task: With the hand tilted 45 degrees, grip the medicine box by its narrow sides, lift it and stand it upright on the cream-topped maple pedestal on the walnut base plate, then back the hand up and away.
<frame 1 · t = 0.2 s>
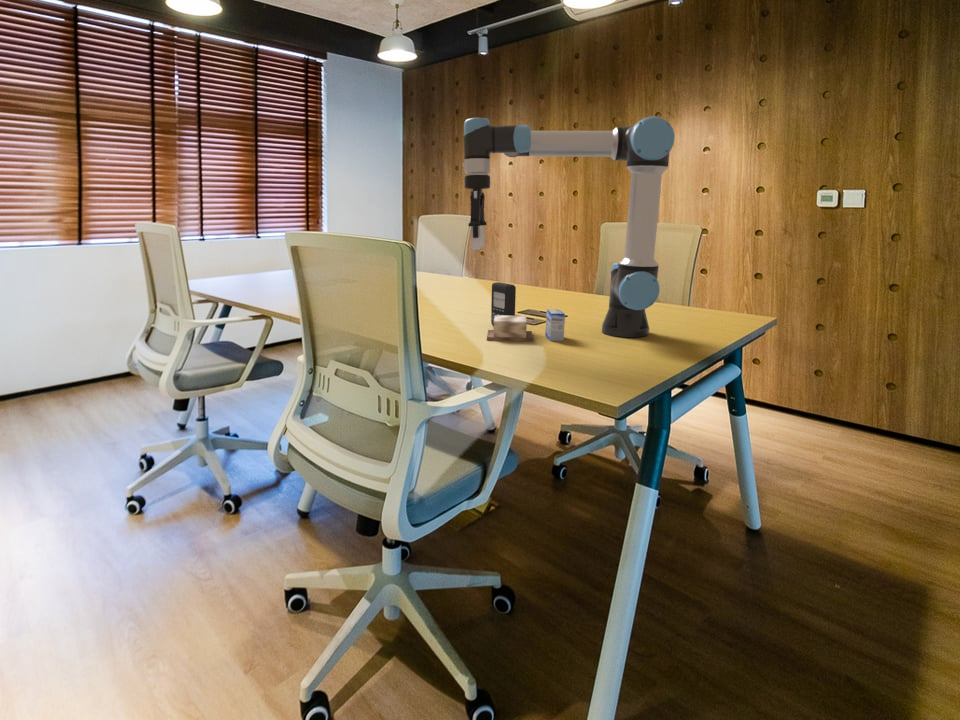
hand: (478, 248, 183), 28 cm above the table, tool pointing down, fingers open, 13 cm apart
build base: (509, 337, 191), on the table
medicine box: (554, 339, 190), on the table
card reader: (502, 328, 205), on the table
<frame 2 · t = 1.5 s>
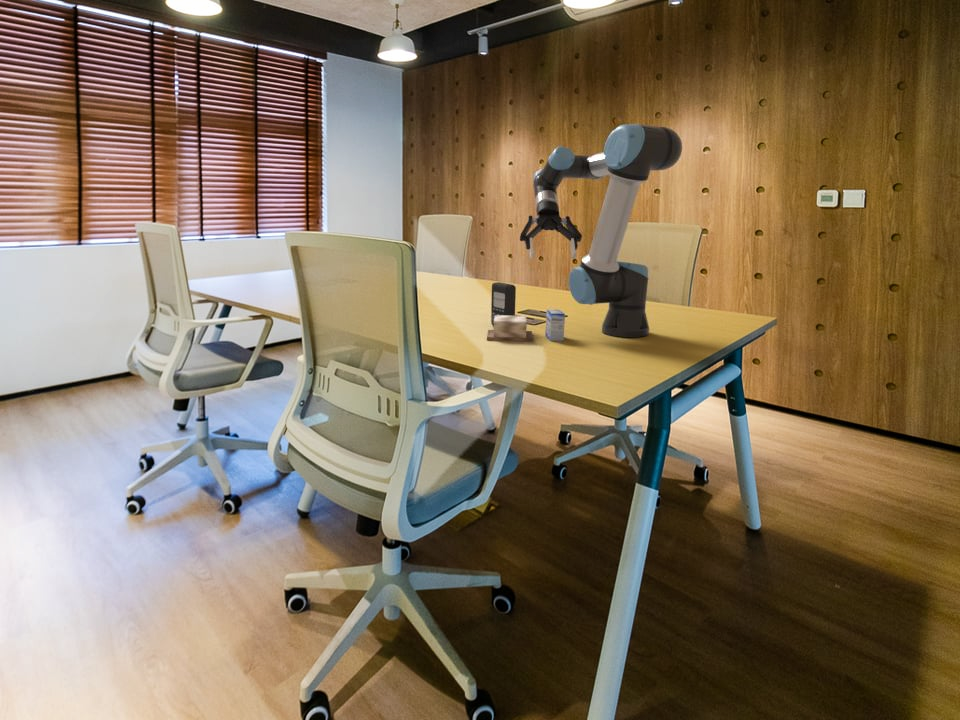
hand: (552, 256, 194), 25 cm above the table, tool tilted 45°, fingers open, 13 cm apart
nothing on the table moved.
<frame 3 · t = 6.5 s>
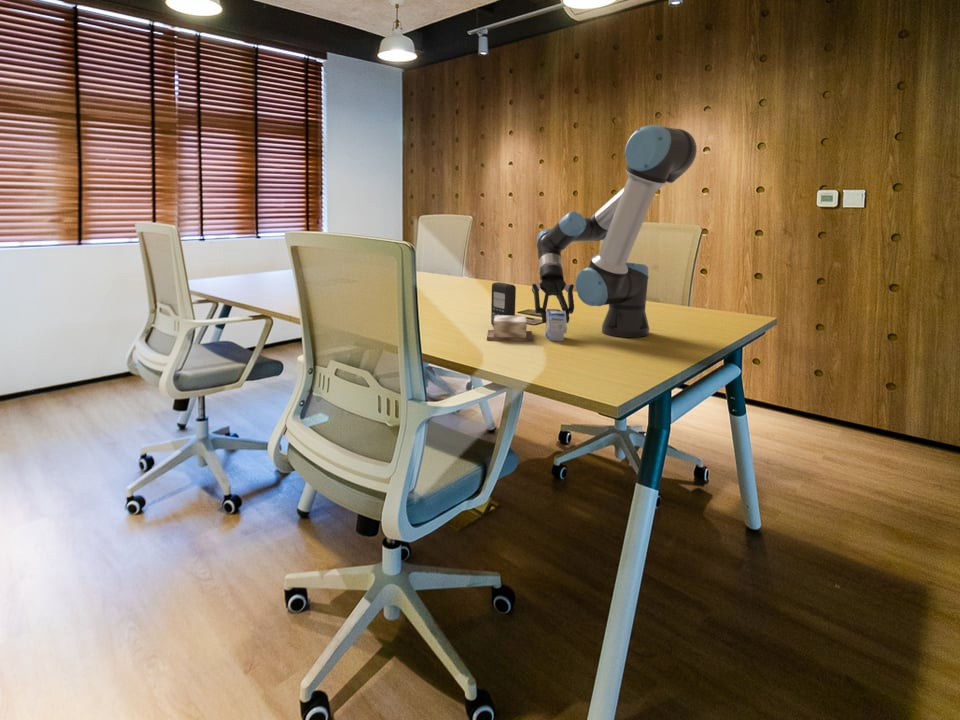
hand: (556, 330, 186), 3 cm above the table, tool tilted 45°, fingers closed on medicine box, 5 cm apart
medicine box: (554, 338, 190), on the table, touching gripper
everything else where it was.
when the fingers open (11 cm above the table, at t = 11.3 s): medicine box drops 1 cm, resting on build base.
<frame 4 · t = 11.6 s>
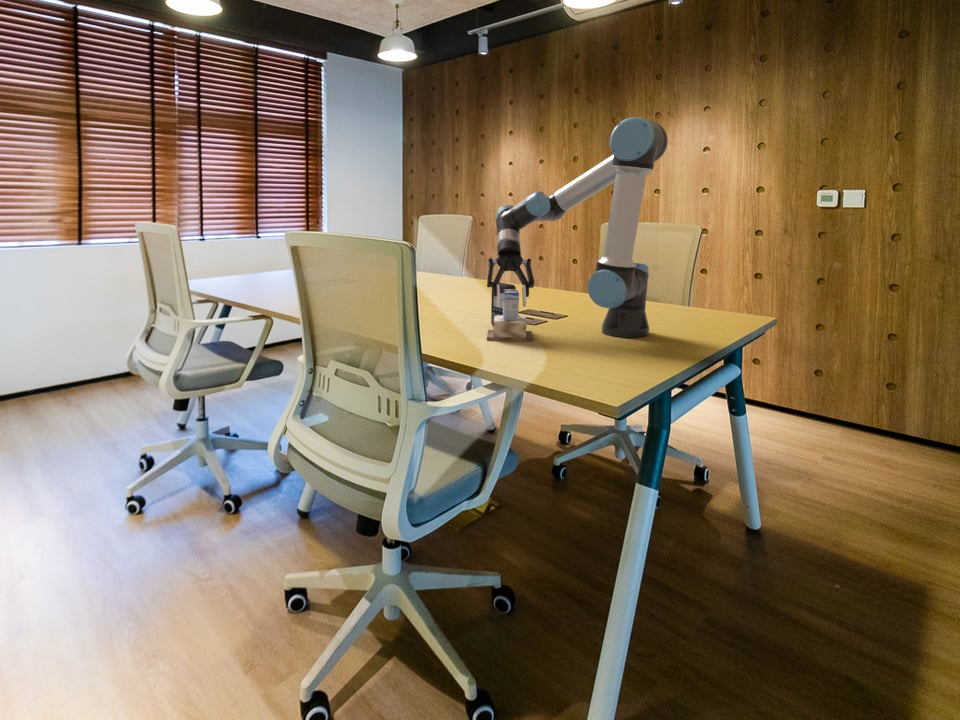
hand: (511, 304, 185), 11 cm above the table, tool tilted 45°, fingers open, 7 cm apart
medicine box: (510, 319, 189), point 6 cm above the table, touching build base
everything else where it was.
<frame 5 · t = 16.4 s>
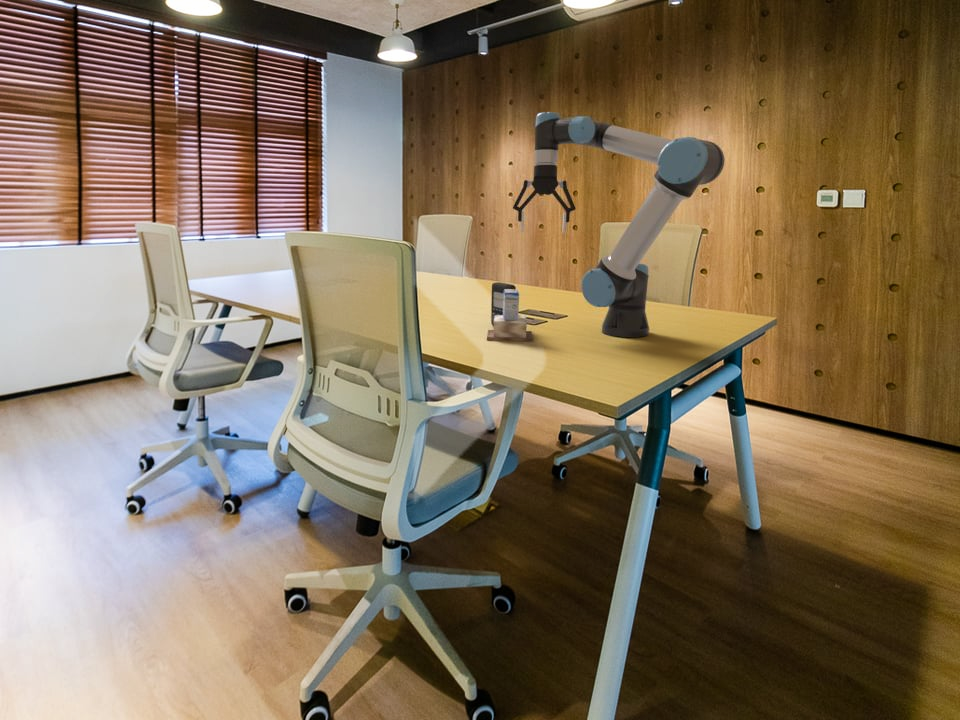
hand: (543, 232, 199), 32 cm above the table, tool pointing down, fingers open, 13 cm apart
nothing on the table moved.
at the end: medicine box inside the target area (0.1 cm from its centre), point 5.8 cm above the table; medicine box tilted 0°; the gripper is holding nothing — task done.
